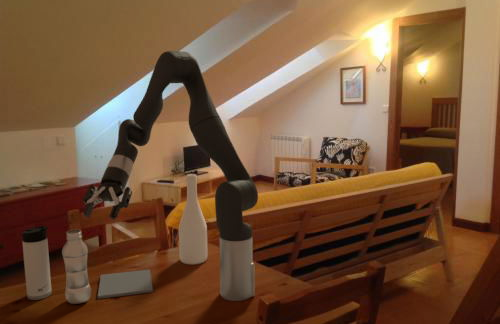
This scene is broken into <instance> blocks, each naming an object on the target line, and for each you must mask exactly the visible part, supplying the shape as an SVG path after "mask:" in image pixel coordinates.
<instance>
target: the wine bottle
mask: <svg viewBox="0 0 500 324" xmlns="http://www.w3.org/2000/svg"><path fill="white" fill-rule="evenodd" d="M185 181H186V201H185V205H184V209H183V212H182V216H181V218H180V221H179V226H178V249H179V260H180V262H181V263H183V264H185V265H190V266H191V265H194V266H195V265H200V264H202V263H205V261H207V259H208V226H207V222H206V220H205V219H206V218H205V217H204V214H203V211H202V208H201V205H200V202H199V199H198V187H197V186H198V185H197V181H198V176H197V174H195V173H188V174H186V177H185Z"/></svg>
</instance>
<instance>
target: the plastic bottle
mask: <svg viewBox="0 0 500 324" xmlns="http://www.w3.org/2000/svg"><path fill="white" fill-rule="evenodd" d="M82 237H83V235H82V230H80V229H72V230H67V231H66V240H67V241H66V243H65V244H64V245H63V248H62V250H61V255H62V258H63V259H62V260H63V262H64V267H65V274H66V280H65V285H66V286H65V292H64V294H65V299H66V301H68V303H70V304H72V305H77V304H78V305H79V304H83V303H86V302H87V301H88V300H90V298H91V296H92V293H91V292H92V288H91V285H90V282H89V276H88V275H89V274H88V252H89V251H88V246H87V245H86V243H85V242H84V241H83V238H82Z"/></svg>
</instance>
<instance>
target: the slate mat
mask: <svg viewBox="0 0 500 324" xmlns="http://www.w3.org/2000/svg"><path fill="white" fill-rule="evenodd" d="M148 293H153V283H152V275H151V269H143V270H141V269H140V270H134V271H133V270H132V271H131V270H130V271H124V272H115V273H106V274H100V277H99V285H98V293H97V299H98V300H99V299H108V298H116V297H123V296H124V297H125V296H132V295H139V294H148Z"/></svg>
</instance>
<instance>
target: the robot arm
mask: <svg viewBox="0 0 500 324" xmlns="http://www.w3.org/2000/svg"><path fill="white" fill-rule="evenodd" d="M171 84H183V86H184V87H185V89H186V92H187V94H188V97H189V100H190V105H189V113H188V126H189V129H190V132H191V134H192V137H193V138H194V140H195V143H196V144H197V146H198V147H199V149H200V151H202V152H203V153H204V154H205V155H206V156H207V157H208V158H209V159H211V160H212V162H214V163H215V164H216V165H217V166H218V167H219V169H220V170H221V172H222V173H223V175H224V177H225V180H226V181H224V182H221V183H219V185H218V186H217V187H216V191H215V192H214V193H215V195H214V204H215V205H214V206H215V219H216V220H215V223H216V225H217V230H218V232H219V282H220V283H219V286H220V287H219V289H220V290H219V291H220V296H221V298H223V299H224V300H227V301H231V302H241V301H246V300H247V299H249V298H251V297H255V296H256V295H255V293H256V292H255V291H256V290H255V286H256V285H255V282H256V279H255V274H256V273H255V269H256V268H255V265H256V264H255V263H254V261H253V227H252V225H251V224H249V223H248V222H244V217H243V212H245V211H248V210H250V209H251V210H252V209H253V208H254V207H256V205H257V204H258V201H259V192H258V189H257V186H256V185H255V182H254V180H253V179H252V177H251V176H250V174H249V172H248V170H247V169H246V167H245V165H244V164H243V162H242V161H241V158H240V157H239V154H238V153H237V151H236V149H235V147H234V144H233V142H232V140H231V139H230V137H229V134H228V132H227V129H226V127H225V125H224V122H223V121H222V119H221V117H220V115H219V113H218V111H217V109H216V106H215V104H214V101H213V99H212V97H211V95H210V92H209V90H208V88H207V84H206V83H205V80H204V77H203V73H202V71H201V67H200V65H199V63H198V61H197V58H196V57H195V56H194V54H192V53H190V52H189V51H180V50H179V51H175V50H168V51H164V52H163V53H161V54H160V55H159V57H158V59H157V61H156V63H155V65H154V68H153V71H152V74H151V77H150V79H149V82H148V85H147V88H146V91H145V94H144V95H143V98H142V99H141V101H140V103H139V104H138V106H137V108H136V110H134V113H133V117H132V119H131V118H127V119H124V120H122V122H121V123H120V125H119V127H118V139H117V144H116V147H115V151H114V152H113V154H112V157H111V159H110V160H109V162H108V164H107V166H106V169H105V170H104V173H103V174H102V177H101V179H100V180H101V181H100V184H99V185H98V186H94V185H93V184H90V185H89V187H88V188H87V190H86V192H85V194H84V196H83V197H82V202H83V203H84V204H85V205H86V206H85V208H84V210H83V216H84V217H85V218H88V219H89V218H90V216H91V215H92V213H93V211H94V207H95V206H96V205H98V204H101V203H102V202H110V203H111V202H112V203H114V205H113V206H112V209H111V211H110V213H109V218H110V219H111V220H113V221H115V219H116V218H117V217H118V215H119V212H120V210H121V209H122V208H128V207H129V204H130V201H131V198H132V195H133V191H132V189H131V188H130V186H127V184H128V182H129V178H130V177H131V174H132V171H133V168H134V164H135V161H136V159H137V157H138V154H139V150H138V148H137V147H145V146H146V145H147V144H148V143H149V141H150V140H151V135H152V134H151V133H152V129H153V126H154V124H155V123H156V121H157V119H158V118H159V116H160V114H162V110H163V107H164V100H163V94H164V91H165V90H166V88H167V87H168V86H169V85H171ZM136 146H137V147H136ZM122 195H123V196H122ZM121 196H122V198H121V199H120V197H121ZM98 197H99V198H98Z"/></svg>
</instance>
